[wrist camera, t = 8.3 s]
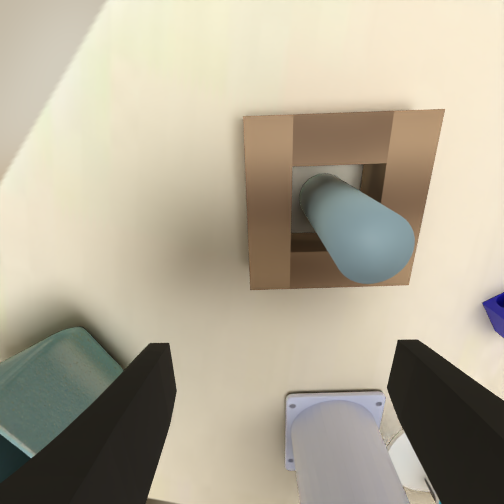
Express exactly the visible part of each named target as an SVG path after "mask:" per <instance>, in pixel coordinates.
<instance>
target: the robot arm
mask: <svg viewBox="0 0 504 504" xmlns="http://www.w3.org/2000/svg"><path fill="white" fill-rule="evenodd" d="M387 390H388V392H389V395H390V398H391V401H392V404H393V406H394V409H395V412H396V414H397V417H398V419H399V422H400V424H401V426H402V428H403V430H404V432H405V434H406V436H407V438H408V440H409V442H410V444H411V446H412V448H413V450H414V452H415V454H416V456H417V457H418V459H419V461H420V463H421V465H422V467H423V469H424V471H425V473H426V475H427V477H428V479H429V481H430V483H431V485H432V487H433V489H434V491H435V493H436V494H437V496H438V498H439V500H440V502H441V504H504V401H503V400H502V399H501V398H499V397H498V396H496V395H495V394H493V393H492V392H490V391H489V390H488V389H486V388H485V387H483V386H482V385H481V384H479V383H478V382H476V381H475V380H473V379H472V378H471V377H469V376H468V375H467V374H465V373H464V372H462V371H461V370H460V369H458V368H457V367H455V366H454V365H453V364H451V363H450V362H449V361H447V360H446V359H444V358H443V357H442V356H440V355H439V354H438V353H436V352H435V351H433V350H432V349H431V348H429V347H428V346H426V345H425V344H423V343H422V342H420V341H419V340H398V341H397V346H396V350H395V355H394V359H393V363H392V368H391V372H390V377H389V381H388V385H387ZM176 392H177V390H176V383H175V377H174V371H173V364H172V358H171V352H170V345H169V343H150V344H149V345H148V346H147V347H146V348H145V349H144V350H143V351H142V352H141V353H140V354H139V355H138V356H137V357H136V358H135V359H134V360H133V361H132V362H131V364H130V365H129V366H128V367H127V368H126V369H125V370H124V371H123V372H122V373H121V374H120V375H119V376H118V377H117V378H116V379H115V380H114V381H113V382H112V383H111V385H110V386H109V387H108V388H107V389H106V390H105V391H104V392H103V393H102V394H101V395H100V396H99V397H98V398H97V399H96V400H95V401H94V402H93V403H92V404H91V405H90V406H89V407H88V408H87V409H85V410H84V411H83V412H82V413H81V414H80V415H79V416H78V417H77V418H76V419H75V420H74V421H73V422H72V423H71V424H70V425H69V426H67V427H66V428H65V429H64V430H63V431H62V432H61V433H60V434H59V435H58V436H57V437H55V438H54V439H53V440H52V441H51V442H50V443H49V444H48V445H46V446H45V447H44V448H43V449H42V450H41V451H39V452H38V453H37V454H36V455H35V456H33V457H32V458H31V459H30V460H29V461H27V462H26V463H25V464H24V465H23V466H21V467H20V468H19V469H18V470H17V471H15V472H14V473H13V474H12V475H10V476H9V477H8V478H6V479H5V480H4V481H3V482H1V483H0V504H145V503H146V500H147V497H148V494H149V491H150V488H151V484H152V481H153V478H154V475H155V472H156V468H157V465H158V462H159V459H160V456H161V452H162V449H163V446H164V443H165V439H166V436H167V433H168V430H169V426H170V422H171V417H172V413H173V408H174V402H175V397H176ZM385 399H386V397H385V395H384V393H383V392H379V391H375V392H339V393H302V394H289V395H288V396H287V397H286V425H285V468H286V469H287V470H290V471H293V470H296V478H297V486H298V493H299V501H300V504H410V503H409V500H408V498H407V495H406V493H405V491H404V488H403V486H402V483H401V481H400V479H399V476H398V474H397V472H396V469H395V467H394V464H393V462H392V460H391V457H390V455H389V452H388V450H387V448H386V445H385V443H384V441H383V438H382V436H381V433H380V431H379V428H380V424H381V419H382V414H383V409H384V404H385Z"/></svg>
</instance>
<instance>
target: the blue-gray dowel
mask: <svg viewBox="0 0 504 504" xmlns="http://www.w3.org/2000/svg"><path fill="white" fill-rule="evenodd" d="M299 201H300V206H301V208H302V210H303V212H304V213H305V215H306V217H307V218H308V220H309V222H310V223H311V225H312V226H313V228H314V230H315V231H316V233H317V235H318V236H319V238H320V239H321V241H322V243H323V244H324V246H325V248H326V249H327V251H328V252H329V254H330V256H331V257H332V259H333V261H334V262H335V264H336V265H337V267H338V269H339V270H340V272H341V273H342V274H343V275H344V276H345V277H347V278H348V279H350V280H352V281H354V282H357V283H362V284H374V283H379V282H382V281H385V280H387V279H389V278H391V277H393V276H395V275H396V274H397V273H399V272H400V271H401V270H402V269H403V268H404V267H405V266H406V264H407V263H408V261H409V260H410V258H411V256H412V253H413V250H414V245H415V237H414V232H413V230H412V227H411V226H410V224H409V223H408V221H407V220H406V219H404V218H403V217H402V216H400V215H399V214H397V213H395V212H394V211H392V210H390V209H389V208H387V207H385V206H384V205H382V204H381V203H379V202H377V201H376V200H374V199H372V198H371V197H369V196H367V195H366V194H364V193H362V192H361V191H359V190H357V189H356V188H354V187H352V186H351V185H349V184H347V183H346V182H344V181H343V180H341V179H339V178H338V177H336V176H334V175H331V174H318V175H316V176H313V177H312V178H310V179H309V180H308V181H307V182H306V183H305V184H304V185H303V187H302V189H301V192H300V196H299Z"/></svg>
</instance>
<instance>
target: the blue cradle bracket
mask: <svg viewBox="0 0 504 504" xmlns="http://www.w3.org/2000/svg"><path fill="white" fill-rule="evenodd" d="M483 306H484V308H485V310H486V312H487V314H488V317H489V319H490V321H491V323H492V325H493V327H494V330H495V331H496V332H497V333H498V334H499V335H501V336H502V337H503V338H504V292H503V293H501V294H499V295H497V296H495V297H493V298H491V299H489V300H487V301H485V302H483Z"/></svg>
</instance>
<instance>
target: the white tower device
mask: <svg viewBox="0 0 504 504" xmlns="http://www.w3.org/2000/svg"><path fill="white" fill-rule="evenodd" d="M387 450H388V452H389V455H390V457H391V460H392V462H393V464H394V467H395V469H396V472H397V474H398V476H399V479H400V481H401V483H402V486H404V487H407V488H409V489H413V490H417V491H424V492H430V493H431V495H432V497H433V498H434V500H435V502H436V503H437V504H441V502H440V500H439V498H438V496H437V494H436V493H435V491H434V489H433V487H432V485H431V483H430V481H429V479H428V477H427V475H426V473H425V471H424V469H423V467H422V465H421V463H420V461H419V459H418V457H417V456H416V454H415V452H414V450H413V448H412V446H411V444H410V442H409V440H408V438H407V436H406V434H405V432H404V430H403V429H402V430H401V431H400V432H399V433H398V434H396V436H395V437H394V438H393V439H392V440H391V442H390V443H389V445H388V447H387Z"/></svg>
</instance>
